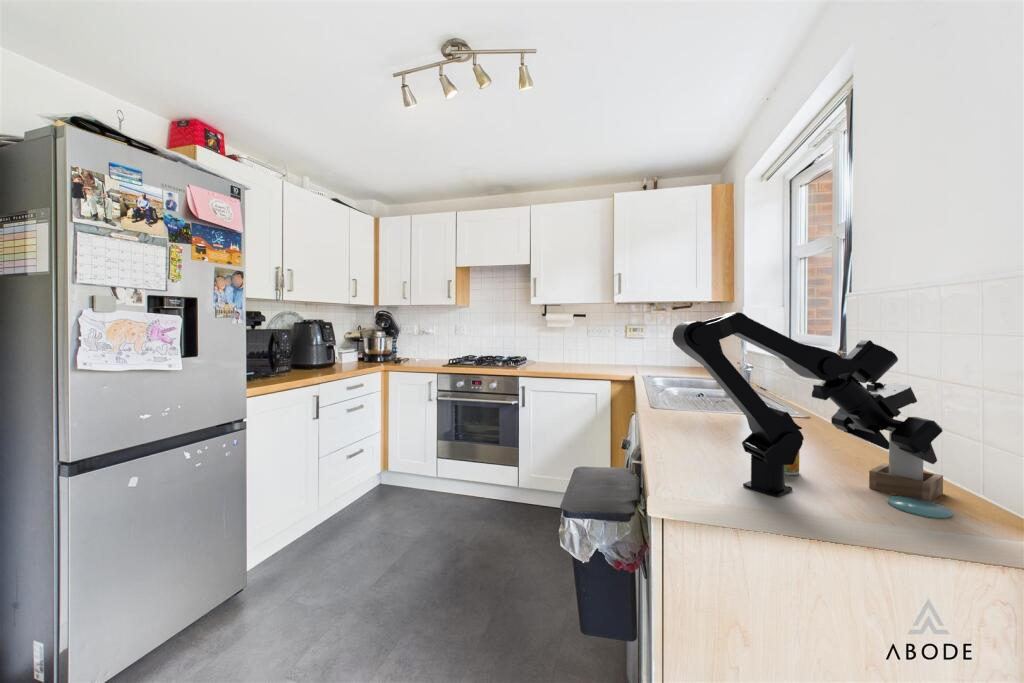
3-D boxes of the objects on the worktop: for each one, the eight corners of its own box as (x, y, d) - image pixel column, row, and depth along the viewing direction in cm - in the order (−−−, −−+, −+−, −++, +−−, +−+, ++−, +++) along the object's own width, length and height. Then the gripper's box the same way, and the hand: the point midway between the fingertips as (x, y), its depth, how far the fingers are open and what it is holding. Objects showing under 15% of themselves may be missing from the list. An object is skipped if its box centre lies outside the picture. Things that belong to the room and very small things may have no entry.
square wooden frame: (929, 503, 72) (930, 484, 72) (869, 487, 80) (869, 470, 80) (942, 493, 77) (943, 475, 77) (884, 479, 84) (884, 463, 84)
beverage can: (929, 496, 75) (930, 433, 75) (900, 494, 76) (901, 432, 76) (910, 486, 80) (911, 427, 80) (882, 485, 81) (883, 426, 81)
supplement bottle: (773, 473, 88) (773, 430, 88) (767, 466, 93) (768, 425, 93) (802, 477, 86) (803, 432, 86) (795, 469, 91) (795, 427, 91)
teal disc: (945, 522, 65) (945, 519, 65) (880, 505, 72) (881, 502, 72) (957, 511, 69) (957, 508, 69) (895, 495, 76) (895, 492, 76)
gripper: (931, 375, 69) (997, 438, 68) (845, 366, 87) (896, 416, 87) (884, 420, 69) (949, 483, 69) (808, 402, 88) (859, 451, 88)
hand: (910, 454), depth 78 cm, fingers open, 9 cm apart
